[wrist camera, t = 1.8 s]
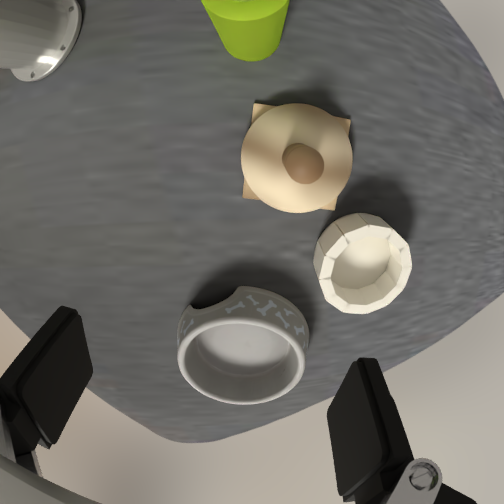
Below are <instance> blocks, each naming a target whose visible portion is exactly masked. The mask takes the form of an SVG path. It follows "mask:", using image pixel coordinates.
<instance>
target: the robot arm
mask: <svg viewBox="0 0 504 504" xmlns="http://www.w3.org/2000/svg"><path fill="white" fill-rule="evenodd" d="M81 21H82V13H81V8H80V5H79V3H78V2H77V0H0V68H9V69H11V71H12V73H13V74H14V75H15V77H17V78H18V79H20V80H23V81H37V80H40V79H42V78H45V77H46V76H48V75H49V74H51V73H52V72H53V71H54V70H56V69H57V68H58V67H59V66H60V64H61V63H62V62H63V61H64V60H65V58H66V57H67V56H68V54H69V53H70V51H71V49H72V48H73V46H74V44H75V42H76V39H77V37H78V34H79V31H80V27H81ZM92 373H93V367H92V363H91V359H90V355H89V351H88V347H87V342H86V338H85V333H84V328H83V323H82V318H81V316H80V315H78V312H77V310H75V309H72V308H69V307H65V306H60V307H59V308H58V309H57V310H56V311H55V313H54V314H53V315H52V316H51V317H50V318H49V319H48V320H47V322H46V323H45V324H44V325H43V326H42V327H41V328H40V330H39V331H38V332H37V333H36V334H35V335H34V337H33V338H32V339H31V340H30V341H29V343H28V344H27V345H26V346H25V348H24V349H23V350H22V351H21V352H20V354H19V355H18V356H17V357H16V359H15V360H14V361H13V362H12V364H11V365H10V366H9V368H8V369H7V370H6V371H5V373H4V374H3V375H2V377H1V378H0V504H101V503H98V502H95V501H93V500H90V499H88V498H85V497H83V496H80V495H78V494H76V493H74V492H71V491H69V490H67V489H65V488H63V487H60V486H58V485H56V484H54V483H52V482H50V481H48V480H46V479H44V478H43V476H42V472H41V469H40V466H39V463H38V460H37V456H36V452H35V448H36V446H37V444H39V445H41V446H43V447H45V448H47V449H50V447H51V445H52V444H55V443H56V442H57V441H58V439H59V437H60V435H61V433H62V431H63V429H64V427H65V425H66V423H67V421H68V419H69V417H70V415H71V413H72V411H73V410H74V408H75V406H76V404H77V402H78V400H79V398H80V397H81V395H82V393H83V391H84V389H85V387H86V386H87V384H88V382H89V380H90V378H91V376H92ZM327 420H328V426H329V432H330V438H331V445H332V452H333V459H334V466H335V473H336V480H337V488H338V493H339V495H340V496H343V502H351V501H355V503H356V504H477V503H476V501H474V500H473V499H471V498H469V497H467V496H466V495H463V494H462V493H460V492H458V491H456V490H454V489H452V488H451V487H449V486H447V485H445V484H443V483H442V473H441V470H440V468H439V467H438V466H437V464H436V463H434V462H433V461H431V460H429V459H426V458H419V459H415V460H414V457H413V454H412V451H411V448H410V445H409V442H408V439H407V436H406V433H405V430H404V427H403V424H402V421H401V418H400V416H399V413H398V410H397V407H396V404H395V402H394V399H393V398H392V396H391V395H390V392H389V390H388V387H387V384H386V382H385V379H384V376H383V374H382V371H381V369H380V366H379V363H378V361H377V359H375V358H359V359H358V360H357V361H354V362H353V363H352V364H351V366H350V368H349V370H348V372H347V374H346V376H345V378H344V380H343V382H342V384H341V386H340V388H339V390H338V392H337V393H336V395H335V397H334V399H333V401H332V403H331V405H330V406H329V408H328V411H327Z"/></svg>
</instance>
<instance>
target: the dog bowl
mask: <svg viewBox="0 0 504 504" xmlns="http://www.w3.org/2000/svg"><path fill="white" fill-rule="evenodd" d="M177 340H178V365H179V368H180V370H181V373H182V375H183V376H184V378H185V379H186V380H187V381H188V383H189V384H190V385H191V386H193V387H194V388H195V389H196V390H198V391H199V392H201V393H202V394H204V395H206V396H208V397H210V398H213V399H215V400H218V401H222V402H226V403H232V404H257V403H263V402H267V401H270V400H273V399H276V398H278V397H280V396H282V395H284V394H285V393H287V392H288V391H290V390H291V389H292V388H293V387H294V386H295V385H296V384H297V383H298V382H299V380H300V379H301V377H302V375H303V372H304V369H305V364H306V357H307V349H308V345H309V329H308V325H307V322H306V320H305V318H304V316H303V315H302V313H301V312H300V311H299V309H298V308H297V307H296V306H295V305H294V304H292V303H291V302H290V301H288V300H287V299H286V298H284V297H282V296H280V295H278V294H276V293H274V292H271V291H268V290H265V289H261V288H256V287H249V286H240V287H238V288H237V289H236V291H235V292H234V293H233V294H232V295H231V296H230V297H229V298H227V299H226V300H224V301H222V302H220V303H218V304H215V305H213V306H210V307H207V308H204V309H200V310H198V309H193V308H192V306H191V305H188V306H187V308H186V309H185V310H184V312H183V314H182V315H181V318H180V321H179V324H178V330H177ZM284 369H285V370H284Z"/></svg>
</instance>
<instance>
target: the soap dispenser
mask: <svg viewBox="0 0 504 504" xmlns="http://www.w3.org/2000/svg"><path fill="white" fill-rule="evenodd" d="M289 1H290V0H201V2H202V3H203V5H204V7H205V9H206V11H207V13H208V15H209V17H210V19H211V21H212V23H213V24H214V26H215V28H216V30H217V32H218V34H219V36H220V38H221V40H222V42H223V44H224V46H225V48H226V50H227V51H228V52H229V53H230V54H231V55H232V56H234V57H235V58H237V59H240V60H243V61H259V60H262V59H265V58H267V57H269V56H270V55H271V54H273V53H274V52H275V50H276V49H277V47H278V46H279V43H280V39H281V35H282V30H283V26H284V22H285V18H286V13H287V9H288V5H289Z"/></svg>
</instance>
